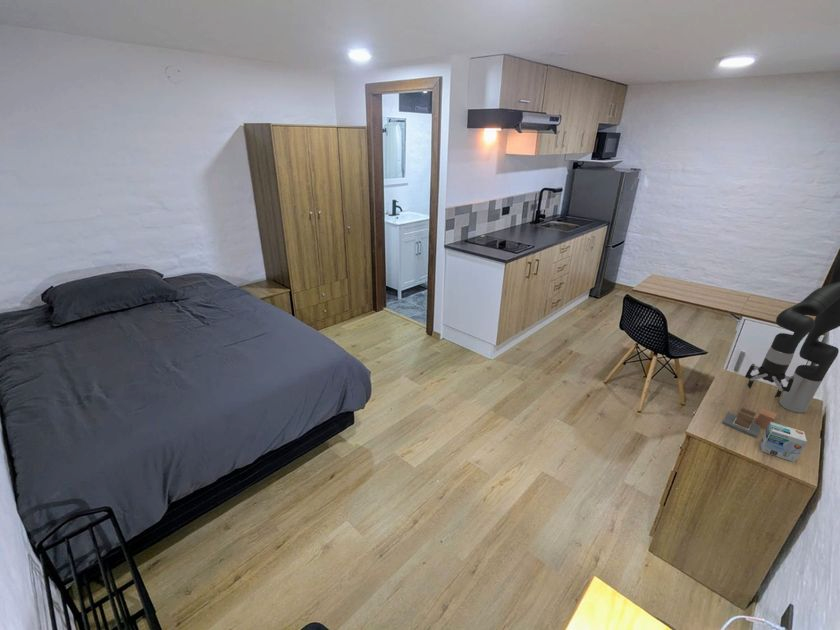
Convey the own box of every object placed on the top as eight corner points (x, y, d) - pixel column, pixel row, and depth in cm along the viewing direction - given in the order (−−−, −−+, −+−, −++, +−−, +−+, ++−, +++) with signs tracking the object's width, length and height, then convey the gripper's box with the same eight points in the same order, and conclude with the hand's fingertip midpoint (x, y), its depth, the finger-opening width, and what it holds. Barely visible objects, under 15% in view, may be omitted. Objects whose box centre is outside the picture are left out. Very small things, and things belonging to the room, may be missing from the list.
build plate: (727, 414, 177) (728, 412, 176) (760, 428, 169) (761, 425, 168) (722, 423, 171) (723, 421, 170) (756, 438, 163) (757, 435, 163)
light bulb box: (760, 451, 157) (771, 430, 152) (759, 441, 162) (769, 420, 157) (795, 463, 151) (808, 442, 146) (793, 452, 156) (804, 431, 152)
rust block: (756, 419, 174) (761, 408, 171) (771, 424, 171) (776, 413, 168) (754, 424, 171) (759, 413, 168) (768, 430, 168) (774, 419, 165)
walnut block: (736, 418, 172) (741, 407, 170) (751, 423, 169) (756, 412, 166) (734, 423, 169) (739, 412, 167) (748, 429, 166) (753, 418, 163)
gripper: (803, 362, 153) (786, 396, 160) (757, 348, 162) (743, 380, 170) (800, 370, 149) (783, 404, 156) (753, 355, 158) (739, 388, 165)
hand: (762, 392), depth 163 cm, fingers open, 8 cm apart
